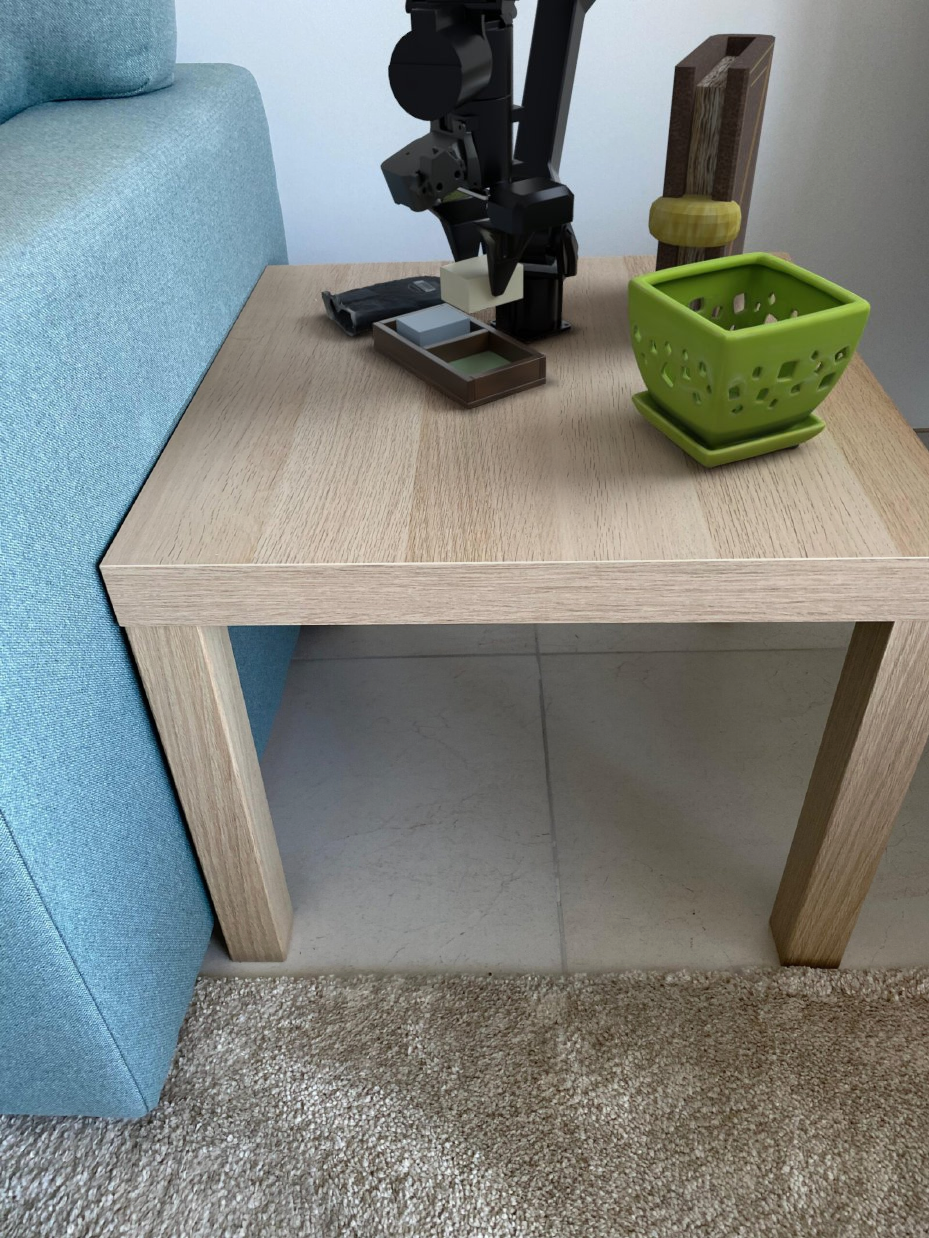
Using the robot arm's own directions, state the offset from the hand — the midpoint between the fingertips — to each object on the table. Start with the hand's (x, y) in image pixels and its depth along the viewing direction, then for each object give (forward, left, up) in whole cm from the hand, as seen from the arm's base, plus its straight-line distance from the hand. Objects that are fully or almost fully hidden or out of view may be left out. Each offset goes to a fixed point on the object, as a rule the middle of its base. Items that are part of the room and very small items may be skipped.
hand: (481, 288), depth 85 cm
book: (-27, +1, -9) cm, 29 cm away
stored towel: (0, -9, -9) cm, 12 cm away
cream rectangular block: (0, 0, -1) cm, 1 cm away
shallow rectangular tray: (0, -5, -9) cm, 10 cm away
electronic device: (-3, -20, -9) cm, 22 cm away
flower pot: (-11, +21, -9) cm, 25 cm away
